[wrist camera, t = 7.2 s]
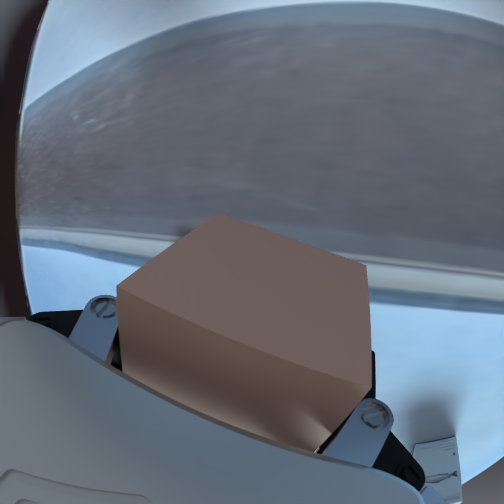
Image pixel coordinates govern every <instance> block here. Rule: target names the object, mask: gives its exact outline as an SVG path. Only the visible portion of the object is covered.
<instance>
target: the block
mask: <svg viewBox="0 0 504 504" xmlns="http://www.w3.org/2000/svg"><path fill="white" fill-rule="evenodd" d="M116 287H117V312H118V328H119V340H120V351H121V361H122V369H123V373H125V374H127V375H129V376H130V377H132V378H134V379H136V380H138V381H139V382H141V383H143V384H145V385H147V386H149V387H150V388H152V389H154V390H156V391H158V392H160V393H162V394H164V395H166V396H168V397H170V398H172V399H174V400H176V401H178V402H180V403H182V404H184V405H187V406H189V407H191V408H193V409H195V410H197V411H200V412H202V413H204V414H206V415H209V416H211V417H213V418H216V419H218V420H221V421H223V422H225V423H228V424H230V425H233V426H236V427H238V428H241V429H243V430H246V431H249V432H251V433H254V434H257V435H260V436H263V437H265V438H268V439H271V440H274V441H277V442H281V443H284V444H287V445H290V446H293V447H297V448H300V449H304V450H307V451H311V452H314V451H315V450H316V449H317V448H318V447H319V446H320V445H321V444H322V443H323V442H324V441H325V440H326V439H327V438H328V437H329V436H330V435H331V434H332V433H333V432H334V431H335V430H336V429H337V428H338V426H339V425H340V424H341V423H342V422H343V421H344V420H345V419H346V418H347V416H348V415H349V414H350V413H351V412H352V411H353V410H354V408H355V407H356V406H357V405H358V404H359V402H360V401H361V400H362V399H363V398H364V396H365V395H366V394H367V393H368V391H369V390H370V389H371V388H372V352H371V324H370V307H369V293H368V281H367V270H366V265H364V264H361V263H358V262H356V261H353V260H350V259H347V258H345V257H342V256H339V255H336V254H334V253H331V252H328V251H325V250H323V249H320V248H317V247H314V246H312V245H309V244H306V243H303V242H300V241H298V240H295V239H292V238H289V237H286V236H283V235H281V234H278V233H275V232H272V231H269V230H266V229H263V228H260V227H258V226H255V225H252V224H249V223H246V222H243V221H240V220H237V219H234V218H231V217H228V216H225V215H222V214H219V213H217V214H215V215H214V216H212V217H211V218H210V219H208V220H207V221H205V222H204V223H202V224H201V225H199V226H198V227H197V228H195V229H194V230H192V231H191V232H189V233H188V234H187V235H185V236H184V237H182V238H181V239H179V240H178V241H177V242H175V243H174V244H172V245H171V246H170V247H168V248H167V249H165V250H164V251H163V252H161V253H160V254H159V255H157V256H156V257H154V258H153V259H152V260H150V261H149V262H148V263H146V264H145V265H144V266H142V267H141V268H139V269H138V270H137V271H135V272H134V273H133V274H131V275H130V276H129V277H127V278H126V279H125V280H123V281H122V282H121V283H120V284H118V285H117V286H116Z"/></svg>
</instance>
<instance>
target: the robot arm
mask: <svg viewBox="0 0 504 504" xmlns="http://www.w3.org/2000/svg"><path fill="white" fill-rule="evenodd" d="M371 352H372V388H371V389H370V390H369V391H368V393H367V394H366V395H365V396H364V398H363V399H362V400H361V401H360V402H359V404H358V405H357V406H356V407H355V408H354V410H353V411H352V412H351V413H350V414H349V415H348V416H347V418H346V419H345V420H344V421H343V422H342V423H341V424H340V425H339V426H338V428H337V429H336V430H335V431H334V432H333V433H332V434H331V435H330V436H329V437H328V438H327V439H326V440H325V441H324V442H323V443H322V444H321V445H320V446H319V448H318V449H317V451H316V452H315V453H314V452H311V451H307V450H304V449H300V448H297V447H293V446H290V445H287V444H284V443H281V442H277V441H274V440H271V439H268V438H265V437H263V436H260V435H257V434H254V433H251V432H249V431H246V430H243V429H241V428H238V427H236V426H233V425H230V424H228V423H225V422H223V421H221V420H218V419H216V418H213V417H211V416H209V415H206V414H204V413H202V412H200V411H197V410H195V409H193V408H191V407H189V406H187V405H184V404H182V403H180V402H178V401H176V400H174V399H172V398H170V397H168V396H166V395H164V394H162V393H160V392H158V391H156V390H154V389H152V388H150V387H149V386H147V385H145V384H143V383H141V382H139V381H138V380H136V379H134V378H132V377H130V376H129V375H127V374H125V373H123V369H122V361H121V351H120V340H119V328H118V312H117V297H114V296H111V295H99V296H96V297H94V298H92V299H91V300H90V301H89V302H88V303H87V304H86V306H85V308H84V310H70V311H49V312H39V313H36V314H33V315H32V316H31V317H29V319H28V320H25V317H8V318H6V317H4V318H3V317H2V318H0V504H447V502H446V501H445V500H444V499H443V498H442V497H441V496H440V495H439V494H438V493H437V491H436V490H435V489H434V488H433V487H432V486H431V485H428V486H426V484H425V473H424V470H423V469H422V467H421V465H420V464H419V463H418V462H417V461H416V460H415V459H414V457H413V456H412V455H411V454H410V453H409V452H408V451H407V449H406V448H405V447H404V446H403V445H402V444H401V442H400V441H399V440H398V439H397V438H396V437H395V436H394V434H393V433H392V432H391V431H390V430H391V428H392V425H393V421H394V419H393V414H392V412H391V410H390V408H389V407H388V406H387V405H386V404H385V403H383V402H382V401H380V400H377V399H375V397H376V377H375V352H374V351H372V350H371Z"/></svg>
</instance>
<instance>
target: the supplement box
mask: <svg viewBox="0 0 504 504" xmlns="http://www.w3.org/2000/svg"><path fill="white" fill-rule="evenodd" d="M413 457H414V459H415V460H416V461H417V462H418V463H419V464H420V465H421V467H422V469H423V470H424V473H425V484H426V486H428V485H431V486H432V487H433V488H434V489H435V490H436V491H437V493H438V494H439V495H440V496H441V497H442V498H443V499H444V500H445V501H446V502H447V504H460V503H461V502H462V486H461V473H460V464H459V455H458V448H457V440H456V436H454V437H452V438H448V439H443V440H439V441H433V442H428V443H422V444H416V445H415V448H414V452H413Z"/></svg>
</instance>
